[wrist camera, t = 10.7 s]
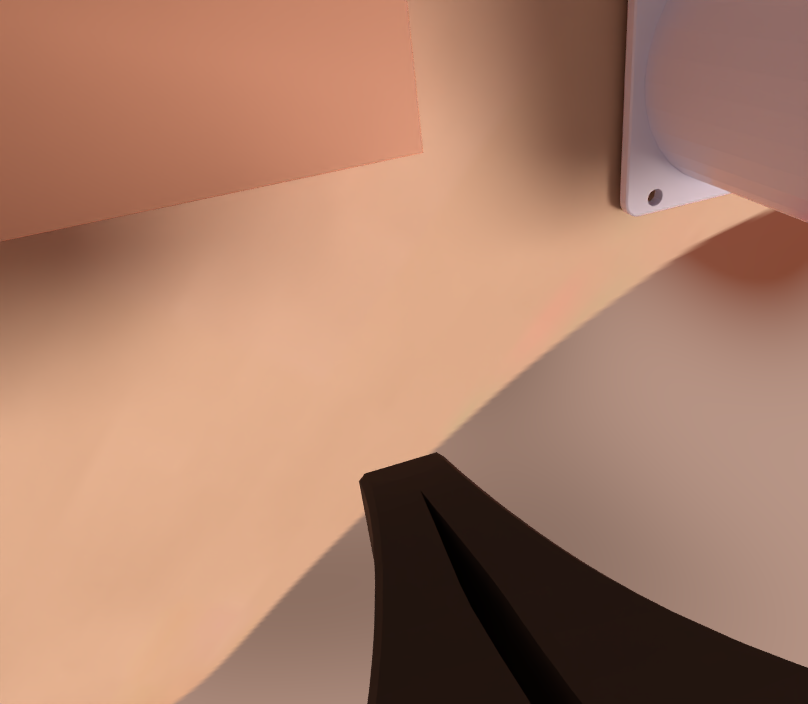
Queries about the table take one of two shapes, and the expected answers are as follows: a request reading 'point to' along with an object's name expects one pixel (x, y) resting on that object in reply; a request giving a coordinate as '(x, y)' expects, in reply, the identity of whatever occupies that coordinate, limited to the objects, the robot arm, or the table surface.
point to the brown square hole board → (192, 101)
